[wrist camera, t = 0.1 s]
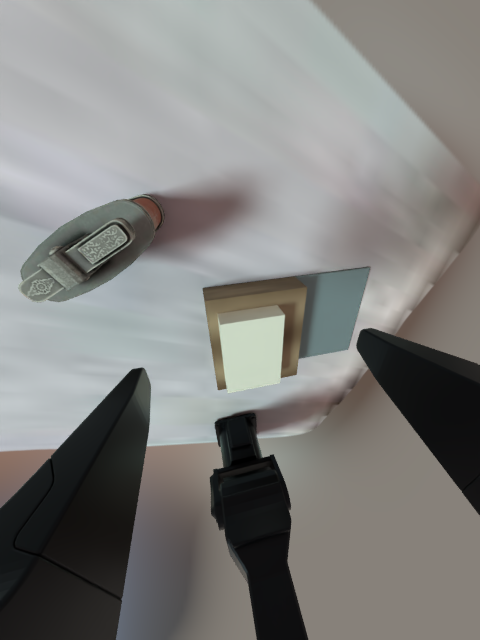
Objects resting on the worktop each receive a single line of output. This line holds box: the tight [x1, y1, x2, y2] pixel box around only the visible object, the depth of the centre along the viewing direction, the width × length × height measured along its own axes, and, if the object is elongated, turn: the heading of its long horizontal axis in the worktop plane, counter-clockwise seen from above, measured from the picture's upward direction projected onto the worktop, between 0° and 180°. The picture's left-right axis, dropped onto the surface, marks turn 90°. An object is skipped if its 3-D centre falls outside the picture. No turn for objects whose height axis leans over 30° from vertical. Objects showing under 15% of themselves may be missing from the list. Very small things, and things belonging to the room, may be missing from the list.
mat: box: [295, 267, 370, 359], centre depth 28 cm, size 12×9×1 cm
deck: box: [203, 276, 307, 390], centre depth 25 cm, size 12×10×3 cm
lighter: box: [18, 194, 164, 303], centre depth 14 cm, size 8×3×10 cm, turn 119°
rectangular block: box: [217, 305, 285, 393], centre depth 23 cm, size 9×6×2 cm, turn 3°
